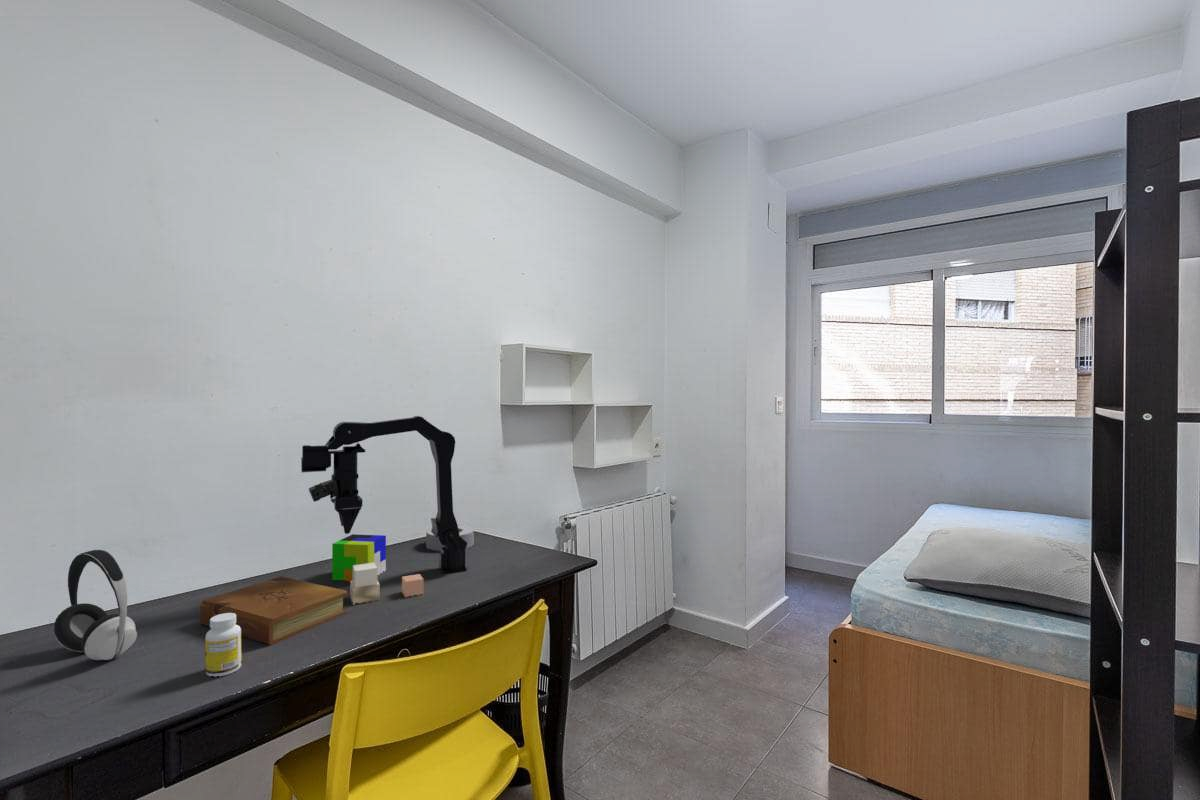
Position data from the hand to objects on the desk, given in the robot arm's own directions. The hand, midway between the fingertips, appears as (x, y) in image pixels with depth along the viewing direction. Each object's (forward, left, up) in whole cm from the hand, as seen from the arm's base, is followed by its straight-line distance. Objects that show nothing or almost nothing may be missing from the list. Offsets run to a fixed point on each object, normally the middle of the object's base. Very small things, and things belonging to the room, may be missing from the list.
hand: (345, 529), depth 146 cm
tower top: (-3, +12, -11) cm, 17 cm away
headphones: (+45, +19, -15) cm, 52 cm away
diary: (+16, +16, -15) cm, 27 cm away
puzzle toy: (-4, -7, -15) cm, 17 cm away
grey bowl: (-34, -26, -15) cm, 46 cm away
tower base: (-3, +12, -15) cm, 19 cm away
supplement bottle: (+24, +38, -15) cm, 47 cm away
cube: (-14, +14, -15) cm, 25 cm away
